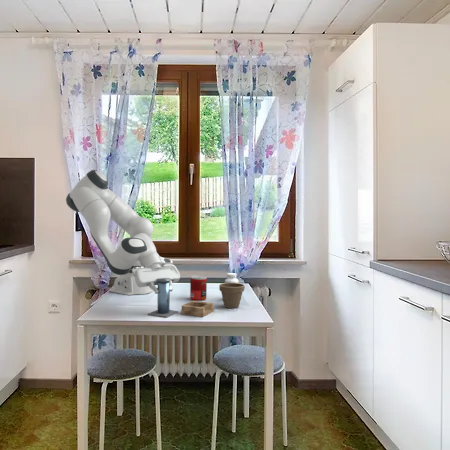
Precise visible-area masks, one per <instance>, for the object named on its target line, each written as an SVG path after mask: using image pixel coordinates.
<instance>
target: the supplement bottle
mask: <svg viewBox="0 0 450 450" xmlns="http://www.w3.org/2000/svg"><path fill="white" fill-rule="evenodd" d="M237 276H238V275H237V273H235V272H227V273H226V277H227V278H226V279H224V283H239V279H238V278H237ZM239 284H240V283H239Z"/></svg>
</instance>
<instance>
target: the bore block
mask: <svg viewBox="0 0 450 450" xmlns="http://www.w3.org/2000/svg"><path fill="white" fill-rule="evenodd" d="M213 312H214V303H213V302H207V301H194V300H191V301H189V302H187V303H184V304H183V305H181V315H184V316H193V317H200V318H204V317H206V316H208V315H209V314H211V313H213Z"/></svg>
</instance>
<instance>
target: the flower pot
mask: <svg viewBox="0 0 450 450" xmlns="http://www.w3.org/2000/svg"><path fill="white" fill-rule="evenodd" d="M245 287H246V285H245V284H243V283H225V282H223V283H220V284H219V287H218V288H219V291H220V292H221V296H222V302H223V306H224V307H225V308H227V309H237V308H238V309H239V307H240V303H241V300H242V295H243V292H244V291H245Z"/></svg>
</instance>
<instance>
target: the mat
mask: <svg viewBox="0 0 450 450" xmlns="http://www.w3.org/2000/svg"><path fill="white" fill-rule="evenodd" d="M178 313H179V310H172V309H170V311H169V312H168V313H158V312H157V309H156V310H153V311H151V312H149V313H148V314H147V315H148V316H153V317H158V316H159V318H168V319H169V318H170V317H171V316H173V315H175V314H176V315H177V314H178Z"/></svg>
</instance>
